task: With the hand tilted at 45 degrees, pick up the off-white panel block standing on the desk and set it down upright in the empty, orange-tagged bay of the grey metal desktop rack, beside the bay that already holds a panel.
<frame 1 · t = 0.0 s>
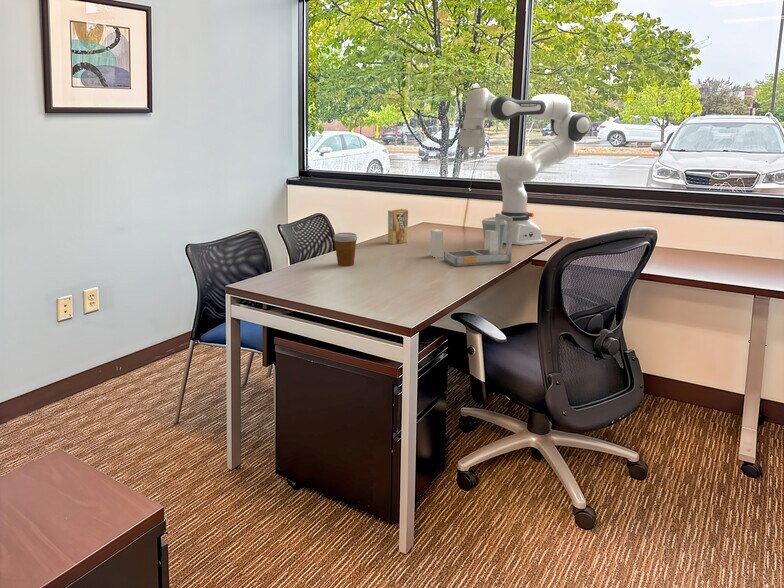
hand: (469, 157, 281), 39 cm above the table, tool pointing down, fingers open, 8 cm apart
disposable coffee cup: (345, 265, 252), on the table
disposable coffee cup 2: (493, 253, 274), on the table
rack: (476, 261, 257), on the table
candy box: (397, 243, 296), on the table
blank panel: (436, 256, 267), on the table
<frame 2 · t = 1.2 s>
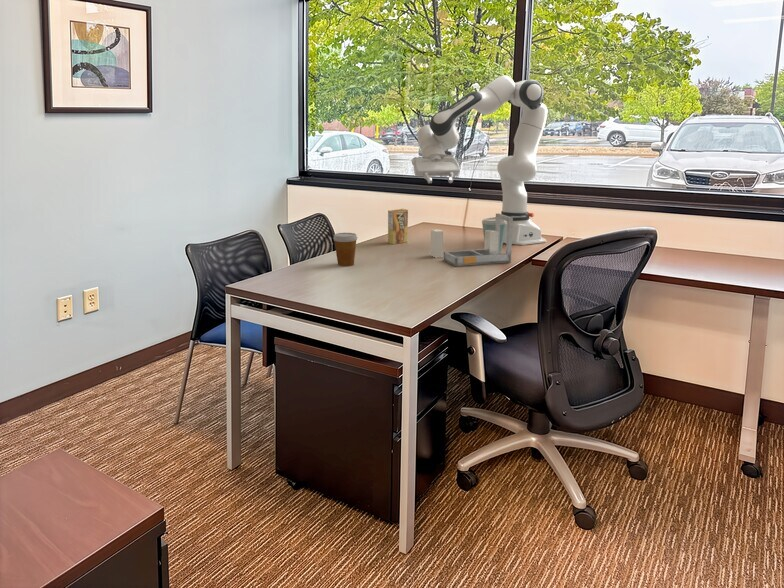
hand: (440, 182, 271), 30 cm above the table, tool tilted 45°, fingers open, 8 cm apart
nothing on the table moved.
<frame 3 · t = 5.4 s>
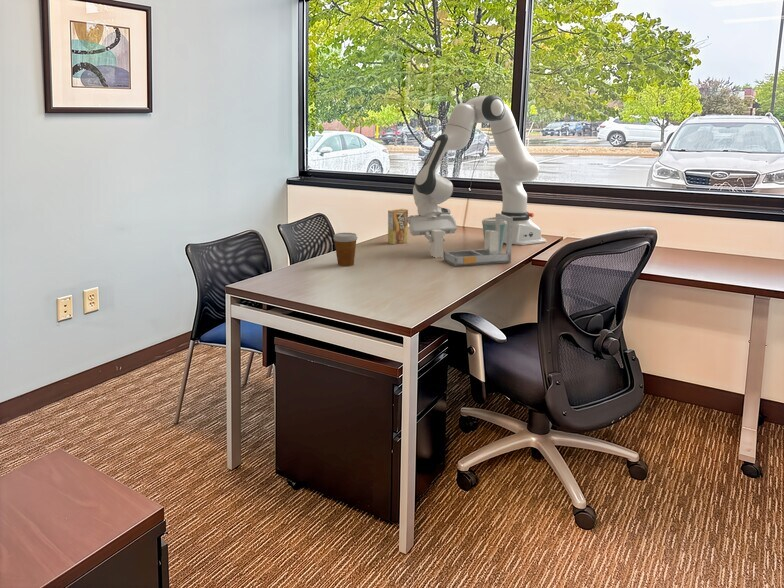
hand: (437, 241, 264), 6 cm above the table, tool tilted 45°, fingers closed on blank panel, 3 cm apart
blank panel: (436, 256, 267), on the table, touching gripper
everything else where it was.
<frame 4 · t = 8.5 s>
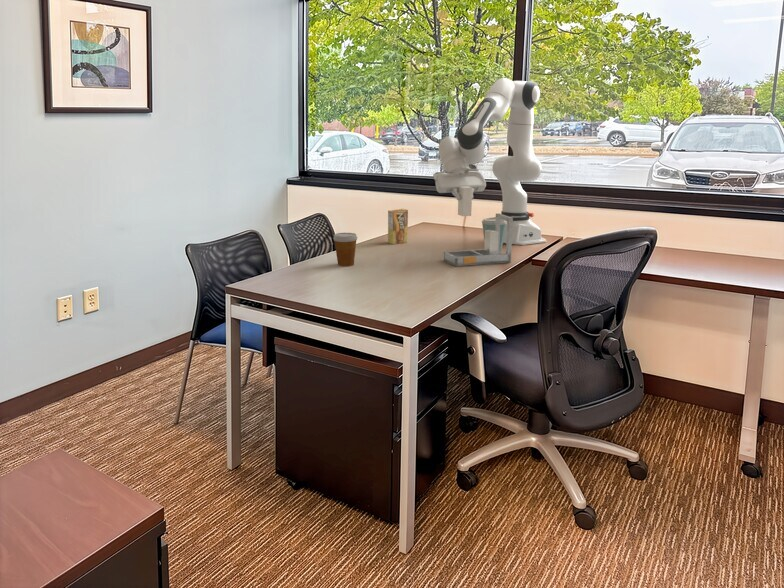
hand: (465, 199, 248), 25 cm above the table, tool tilted 45°, fingers closed on blank panel, 3 cm apart
blank panel: (464, 215, 250), point 19 cm above the table, touching gripper
everything else where it was.
when the fingers open (9 cm above the table, at t = 11.9 s): blank panel drops 1 cm, resting on rack.
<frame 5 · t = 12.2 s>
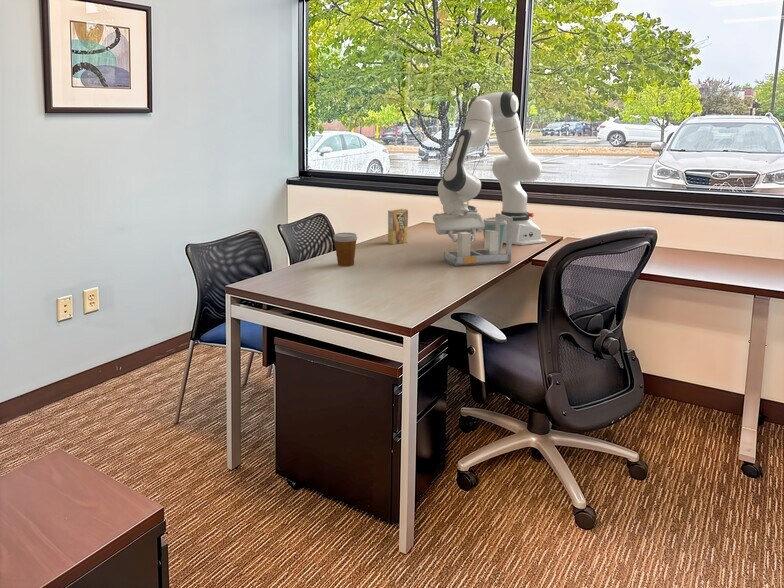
hand: (464, 240, 252), 9 cm above the table, tool tilted 45°, fingers open, 6 cm apart
blank panel: (463, 259, 255), point 1 cm above the table, touching rack
everything else where it was.
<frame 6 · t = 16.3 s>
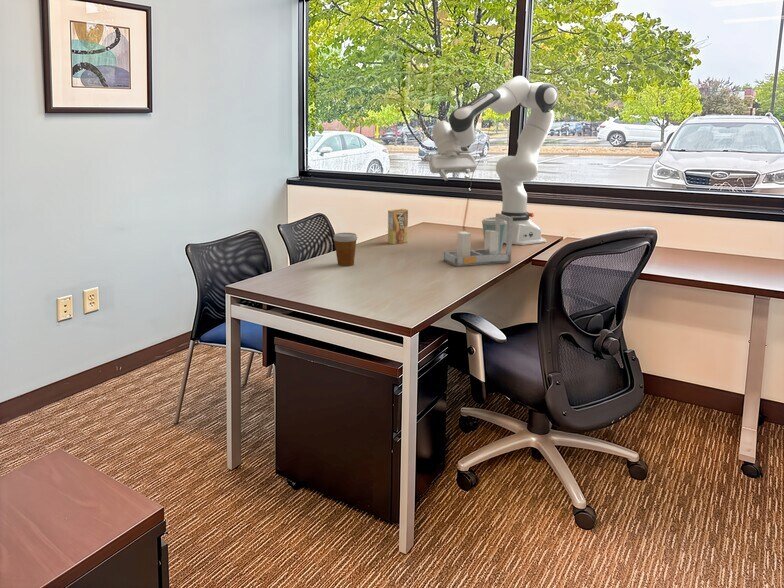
hand: (457, 179, 264), 31 cm above the table, tool tilted 45°, fingers open, 8 cm apart
nothing on the table moved.
at the end: blank panel inside the target area on the rack (0.0 cm from its centre), point 1.0 cm above the rack's base; blank panel tilted 0°; the gripper is holding nothing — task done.
